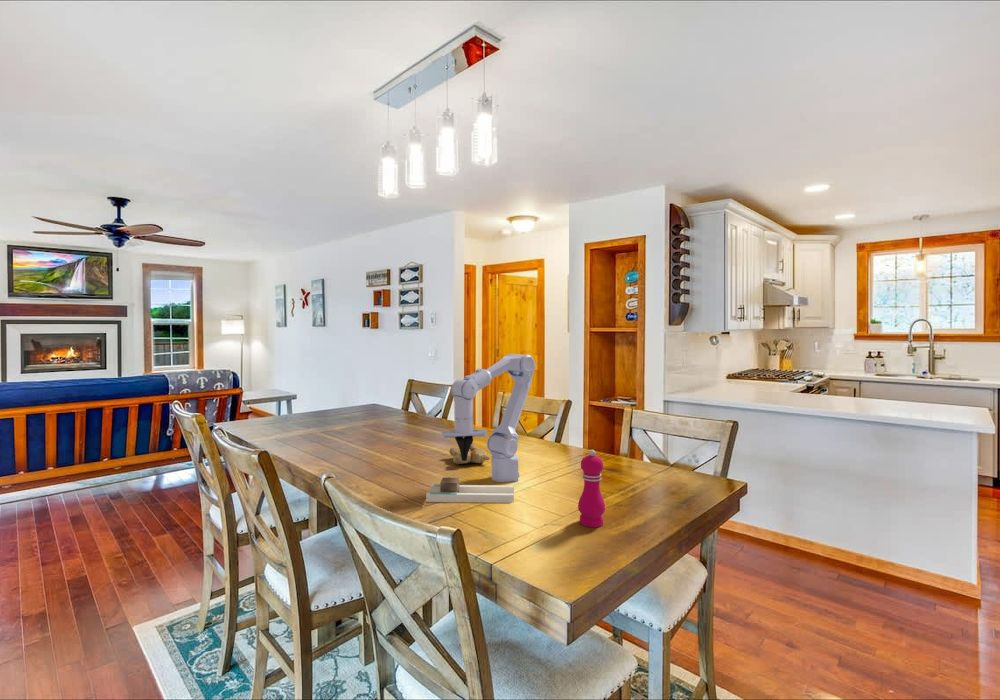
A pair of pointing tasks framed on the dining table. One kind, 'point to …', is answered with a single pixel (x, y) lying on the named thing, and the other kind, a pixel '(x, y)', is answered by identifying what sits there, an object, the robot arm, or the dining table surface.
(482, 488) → the chute
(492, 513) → the dining table surface
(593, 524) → the pepper mill
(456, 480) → the walnut block
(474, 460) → the ginger root
